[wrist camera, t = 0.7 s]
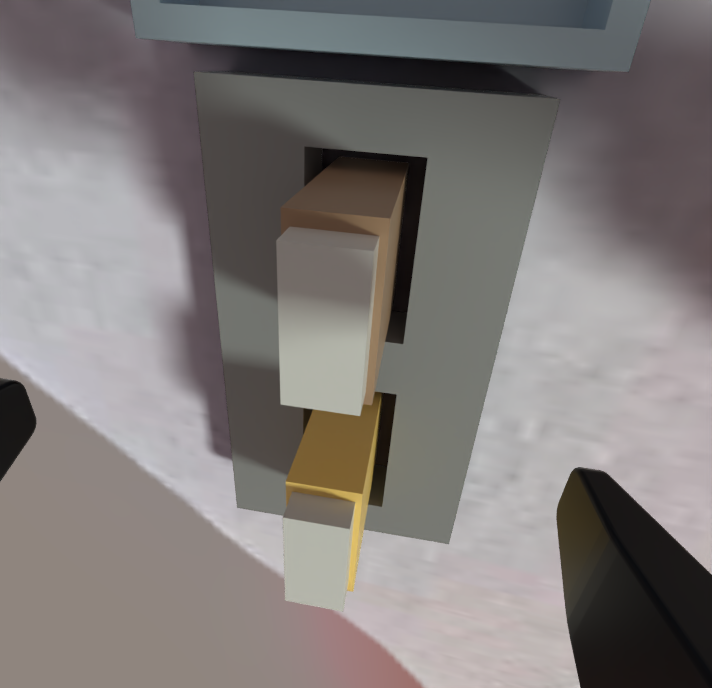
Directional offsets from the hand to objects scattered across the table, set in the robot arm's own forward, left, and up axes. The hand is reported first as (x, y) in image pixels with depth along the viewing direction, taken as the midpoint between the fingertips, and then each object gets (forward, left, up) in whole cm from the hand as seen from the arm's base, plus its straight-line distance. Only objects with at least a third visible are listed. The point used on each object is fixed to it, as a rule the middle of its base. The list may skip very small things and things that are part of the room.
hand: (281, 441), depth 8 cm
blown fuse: (0, 0, -11) cm, 11 cm away
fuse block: (0, +4, -11) cm, 12 cm away
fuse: (0, +8, -11) cm, 14 cm away
